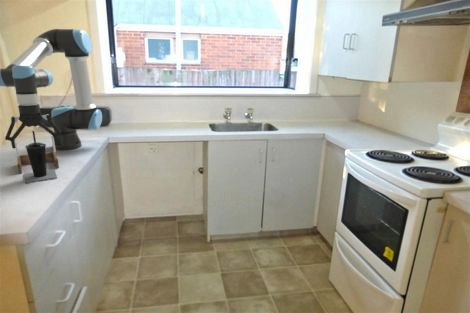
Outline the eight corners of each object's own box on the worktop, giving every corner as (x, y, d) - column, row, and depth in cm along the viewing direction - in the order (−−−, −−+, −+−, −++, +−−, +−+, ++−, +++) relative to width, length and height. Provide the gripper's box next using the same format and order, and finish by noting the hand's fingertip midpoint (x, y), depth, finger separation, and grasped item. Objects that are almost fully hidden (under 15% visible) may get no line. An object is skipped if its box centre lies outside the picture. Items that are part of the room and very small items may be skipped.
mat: (54, 170, 152) (54, 169, 151) (57, 178, 142) (57, 177, 142) (24, 174, 145) (24, 173, 145) (24, 183, 136) (24, 182, 136)
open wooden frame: (56, 159, 167) (54, 151, 166) (58, 168, 155) (57, 159, 154) (19, 164, 159) (17, 155, 158) (19, 173, 147) (17, 164, 145)
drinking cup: (53, 172, 147) (47, 129, 142) (44, 178, 140) (37, 133, 134) (36, 172, 147) (29, 129, 141) (26, 178, 140) (18, 133, 134)
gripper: (61, 101, 144) (67, 147, 150) (-8, 104, 131) (2, 155, 137) (63, 103, 138) (69, 151, 144) (-10, 107, 125) (1, 159, 131)
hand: (36, 153), depth 141 cm, fingers open, 13 cm apart
